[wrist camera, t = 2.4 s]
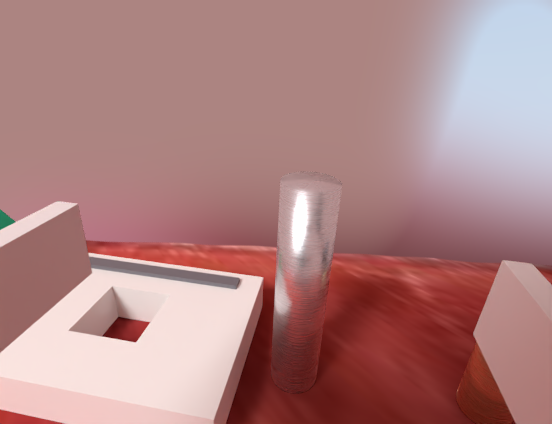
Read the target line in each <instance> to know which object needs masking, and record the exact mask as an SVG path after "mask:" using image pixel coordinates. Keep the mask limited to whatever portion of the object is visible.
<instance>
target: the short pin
mask: <svg viewBox="0 0 552 424" xmlns="http://www.w3.org/2000/svg"><path fill="white" fill-rule="evenodd" d="M456 400H457V403H458V405H459V407H460V409H461V410H462V412H463V413H464V414H465V415H466V416H467V417H468V418H469V419H470V420H471V421H473V422H474V423H476V424H511V423H512V421H513V417H512V415H511V412H510V410H509V408H508V406H507V404H506V402H505V400H504V398H503V396H502V394H501V392H500V389H499V387H498V385H497V383H496V381H495V379H494V377H493V375H492V373H491V371H490V369H489V366H488V364H487V362H486V360H485V358H484V356H483V354H482V352H481V350H480V348H479V346H478V344H477V342H476V344H475V347H474V349H473V352H472V354H471V357H470V359H469V362H468V364H467V367H466V369H465V372H464V374H463V377H462V380H461V382H460V385H459V387H458V390H457V392H456Z"/></svg>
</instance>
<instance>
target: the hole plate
mask: <svg viewBox="0 0 552 424" xmlns="http://www.w3.org/2000/svg"><path fill="white" fill-rule="evenodd" d="M88 254H89V259H90V264H91V269H92V274H91V275H89V276H88V277H87V278H86V279H85V280H84V281H82V282H81V283H80V284H79V285H78V286H77V287H76V288H74V289H73V290H72V291H71V292H70V293H69V294H67V295H66V296H65V297H64V298H63V299H62V300H61V301H59V302H58V303H57V304H56V305H55V306H54V307H52V308H51V309H50V310H49V311H48V312H47V313H46V314H44V315H43V316H42V317H41V318H40V319H39V320H37V321H36V322H35V323H34V324H33V325H32V326H31V327H29V328H28V329H27V330H26V331H25V332H24V333H23V334H21V335H20V336H19V337H18V338H17V339H16V340H14V341H13V342H12V343H11V344H10V345H9V346H8V347H6V348H5V349H4V350H3V351H2V352H1V353H0V409H1V410H6V411H10V412H15V413H19V414H24V415H29V416H33V417H38V418H42V419H47V420H52V421H56V422H61V423H65V424H226V422H227V418H228V415H229V412H230V409H231V406H232V402H233V399H234V396H235V393H236V390H237V386H238V383H239V380H240V377H241V374H242V370H243V367H244V364H245V361H246V358H247V354H248V351H249V348H250V345H251V342H252V338H253V335H254V332H255V329H256V326H257V322H258V319H259V316H260V313H261V310H262V304H263V277H257V276H250V275H243V274H236V273H228V272H221V271H214V270H207V269H200V268H193V267H186V266H179V265H171V264H164V263H157V262H150V261H143V260H136V259H129V258H122V257H115V256H107V255H100V254H93V253H88ZM118 317H122V318H128V319H134V320H140V321H146V322H150V324H149V325H148V327H147V328H146V329H145V331H144V332H143V334H142V335H141V336H140V338H139V339H138V341H137V342H130V341H124V340H119V339H113V338H107V337H102V336H103V334H104V333H105V332H106V331H107V330H108V329H109V327H110V326H111V325H112V324H113V323H114V321H115V320H116V319H117V318H118Z"/></svg>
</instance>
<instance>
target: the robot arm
mask: <svg viewBox="0 0 552 424" xmlns="http://www.w3.org/2000/svg"><path fill="white" fill-rule="evenodd" d="M91 274H92V269H91V264H90V259H89V254H88V250H87V245H86V240H85V235H84V230H83V225H82V220H81V216H80V211H79V206H78V204H75V203H67V202H60V201H57V202H55V203H53V204H51V205H49V206H47V207H45V208H43V209H41V210H39V211H37V212H35V213H33V214H31V215H29V216H27V217H25V218H23V219H21V220H19V221H17V222H15V223H13V224H11V225H9V226H7V227H5V228H3V229H1V230H0V353H1V352H2V351H3V350H4V349H5V348H6V347H8V346H9V345H10V344H11V343H12V342H13V341H14V340H16V339H17V338H18V337H19V336H20V335H21V334H23V333H24V332H25V331H26V330H27V329H28V328H29V327H31V326H32V325H33V324H34V323H35V322H36V321H37V320H39V319H40V318H41V317H42V316H43V315H44V314H46V313H47V312H48V311H49V310H50V309H51V308H52V307H54V306H55V305H56V304H57V303H58V302H59V301H61V300H62V299H63V298H64V297H65V296H66V295H67V294H69V293H70V292H71V291H72V290H73V289H74V288H76V287H77V286H78V285H79V284H80V283H81V282H82V281H84V280H85V279H86V278H87V277H88V276H89V275H91ZM473 335H474V337H475V339H476V341H477V344H478V346H479V348H480V350H481V352H482V354H483V356H484V358H485V360H486V362H487V364H488V366H489V369H490V371H491V373H492V375H493V377H494V379H495V381H496V383H497V385H498V387H499V389H500V392H501V394H502V396H503V398H504V400H505V402H506V404H507V406H508V408H509V410H510V412H511V415H512V417H513V419H514V421H515V423H516V424H552V285H551V284H550V283H549V282H548V280H547V279H546V278H545V277H544V276H543V275H542V274H541V273H540V272H539V271H538V270H537V269H536V268H535V266H534V265H533V264H530V263H522V262H514V261H507V260H502V262H501V265H500V267H499V270H498V272H497V275H496V277H495V280H494V283H493V285H492V288H491V290H490V293H489V295H488V298H487V300H486V303H485V305H484V308H483V310H482V313H481V315H480V318H479V320H478V323H477V325H476V328H475V330H474V333H473Z"/></svg>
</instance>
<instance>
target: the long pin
mask: <svg viewBox="0 0 552 424" xmlns="http://www.w3.org/2000/svg"><path fill="white" fill-rule="evenodd" d="M341 190H342V183H341V181H340V180H338V179H337V178H335V177H333V176H330V175H327V174H323V173H317V172H294V173H289V174H286V175H284V176H283V177H282V178H281V182H280V202H279V221H278V240H277V260H276V279H275V299H274V318H273V338H272V357H271V378H272V380H273V382H274V383H275V385H276V386H277V387H278V388H280V389H281V390H283V391H285V392H288V393H292V394H299V393H303V392H306V391H308V390H309V389H310V388H311V387H312V386H313V385H314V383H315V381H316V377H317V369H318V362H319V354H320V347H321V339H322V332H323V324H324V317H325V309H326V302H327V294H328V287H329V279H330V272H331V264H332V257H333V249H334V242H335V234H336V227H337V219H338V212H339V204H340V197H341Z"/></svg>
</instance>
